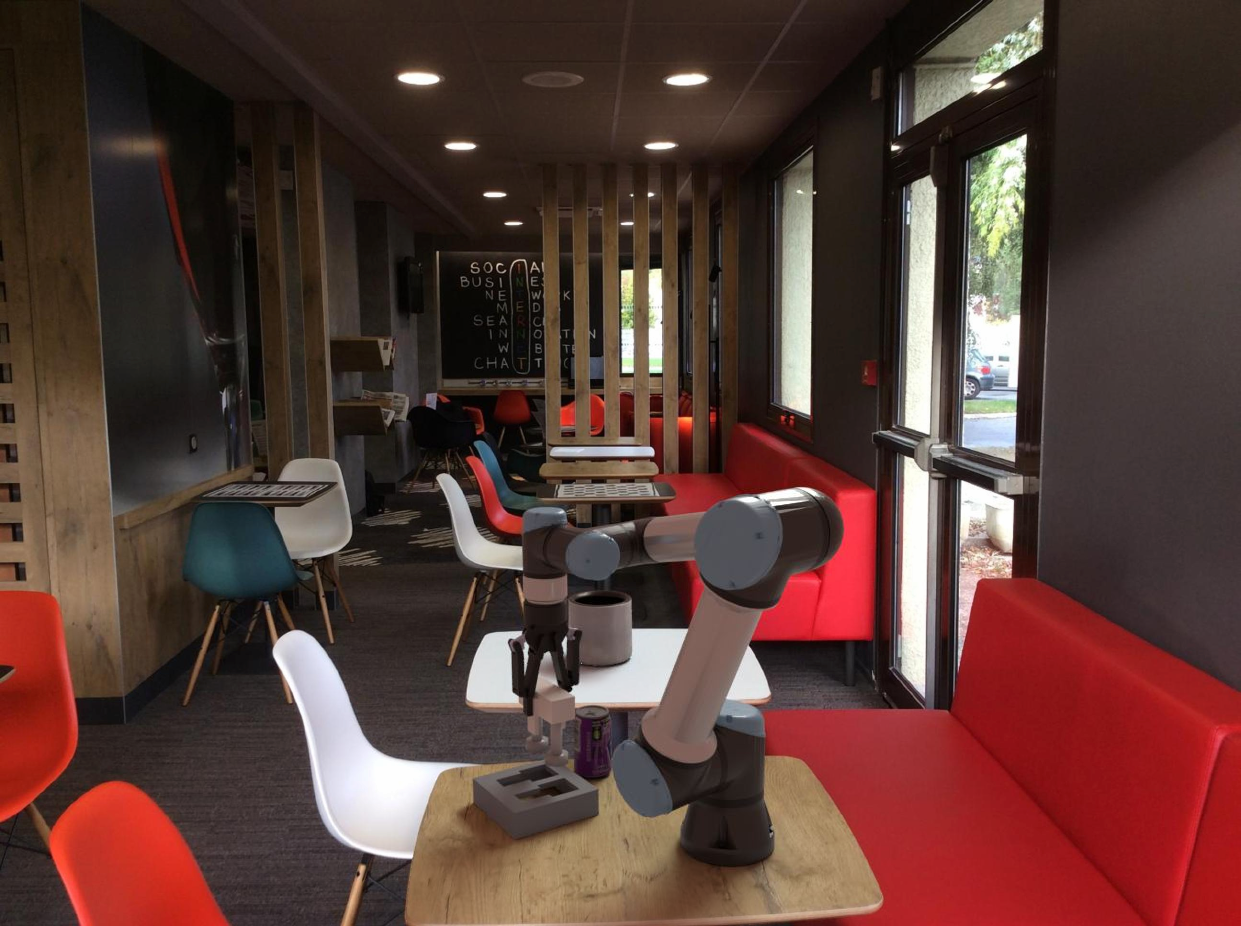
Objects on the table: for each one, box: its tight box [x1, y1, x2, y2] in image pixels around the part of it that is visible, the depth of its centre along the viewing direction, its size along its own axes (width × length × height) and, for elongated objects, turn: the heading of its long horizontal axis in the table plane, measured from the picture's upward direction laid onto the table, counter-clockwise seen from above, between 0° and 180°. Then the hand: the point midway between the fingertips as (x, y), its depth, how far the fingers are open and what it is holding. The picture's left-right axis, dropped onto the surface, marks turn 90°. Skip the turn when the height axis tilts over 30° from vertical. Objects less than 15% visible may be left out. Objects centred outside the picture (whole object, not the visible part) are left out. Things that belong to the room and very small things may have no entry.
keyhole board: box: [472, 758, 600, 840], centre depth 180 cm, size 16×16×4 cm
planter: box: [567, 589, 633, 667], centre depth 261 cm, size 16×16×16 cm
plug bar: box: [518, 675, 576, 767], centre depth 180 cm, size 12×4×12 cm, turn 33°
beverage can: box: [572, 704, 613, 779], centre depth 194 cm, size 7×7×12 cm
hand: (546, 729), depth 180 cm, fingers closed on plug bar, 4 cm apart
